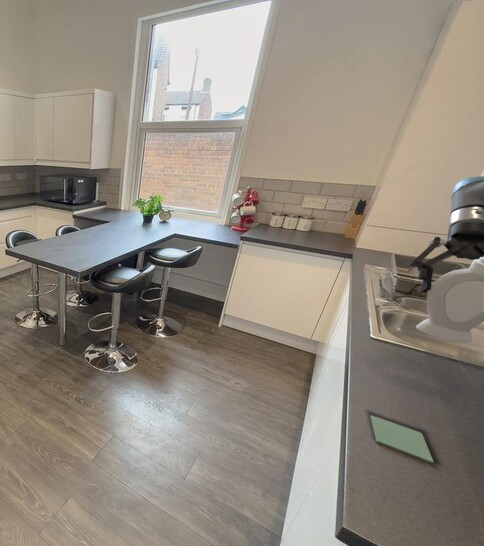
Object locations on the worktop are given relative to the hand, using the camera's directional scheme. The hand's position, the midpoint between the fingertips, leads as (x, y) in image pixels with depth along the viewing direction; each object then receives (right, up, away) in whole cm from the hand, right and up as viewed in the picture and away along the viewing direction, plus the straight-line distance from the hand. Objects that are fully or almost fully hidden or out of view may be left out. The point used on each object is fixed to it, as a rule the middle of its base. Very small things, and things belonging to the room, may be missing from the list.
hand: (464, 297), depth 78 cm
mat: (-24, -32, -7) cm, 41 cm away
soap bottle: (+1, -10, +6) cm, 12 cm away
